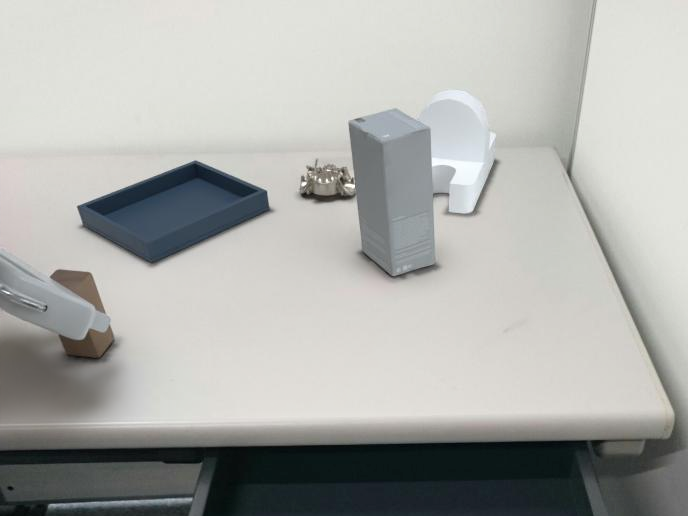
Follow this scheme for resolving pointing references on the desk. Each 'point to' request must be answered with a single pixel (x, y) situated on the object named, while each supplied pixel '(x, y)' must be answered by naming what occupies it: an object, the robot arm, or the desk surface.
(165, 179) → the tray
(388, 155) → the cosmetic box
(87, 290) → the wooden block
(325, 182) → the ornament
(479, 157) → the bracket
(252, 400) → the desk surface
